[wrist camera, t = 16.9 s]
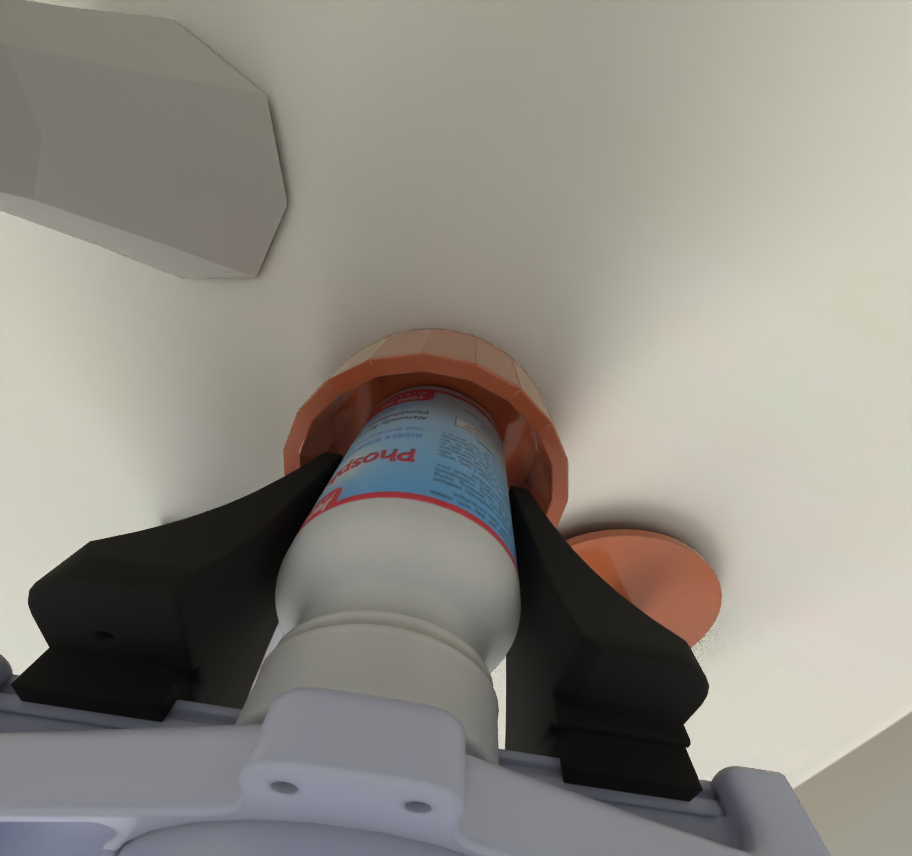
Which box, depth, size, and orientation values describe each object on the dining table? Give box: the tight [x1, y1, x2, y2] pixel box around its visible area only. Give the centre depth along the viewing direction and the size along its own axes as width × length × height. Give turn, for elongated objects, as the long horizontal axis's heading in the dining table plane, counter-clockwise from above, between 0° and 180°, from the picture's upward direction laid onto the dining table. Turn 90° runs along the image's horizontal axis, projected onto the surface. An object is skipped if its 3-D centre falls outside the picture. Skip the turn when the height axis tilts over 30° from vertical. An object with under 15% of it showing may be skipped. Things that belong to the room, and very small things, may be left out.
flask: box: [0, 0, 288, 278], centre depth 8 cm, size 7×7×10 cm
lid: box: [566, 529, 722, 648], centre depth 18 cm, size 11×11×5 cm
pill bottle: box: [235, 386, 521, 765], centre depth 11 cm, size 6×6×11 cm
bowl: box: [284, 329, 568, 528], centre depth 15 cm, size 10×10×4 cm
